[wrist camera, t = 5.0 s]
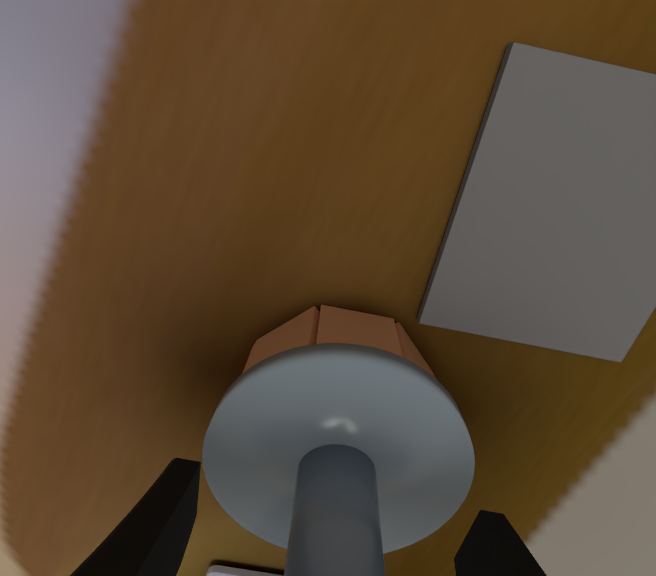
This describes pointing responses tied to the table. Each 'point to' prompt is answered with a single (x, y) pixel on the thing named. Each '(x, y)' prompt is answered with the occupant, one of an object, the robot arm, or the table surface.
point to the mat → (555, 210)
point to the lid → (338, 456)
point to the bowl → (337, 334)
